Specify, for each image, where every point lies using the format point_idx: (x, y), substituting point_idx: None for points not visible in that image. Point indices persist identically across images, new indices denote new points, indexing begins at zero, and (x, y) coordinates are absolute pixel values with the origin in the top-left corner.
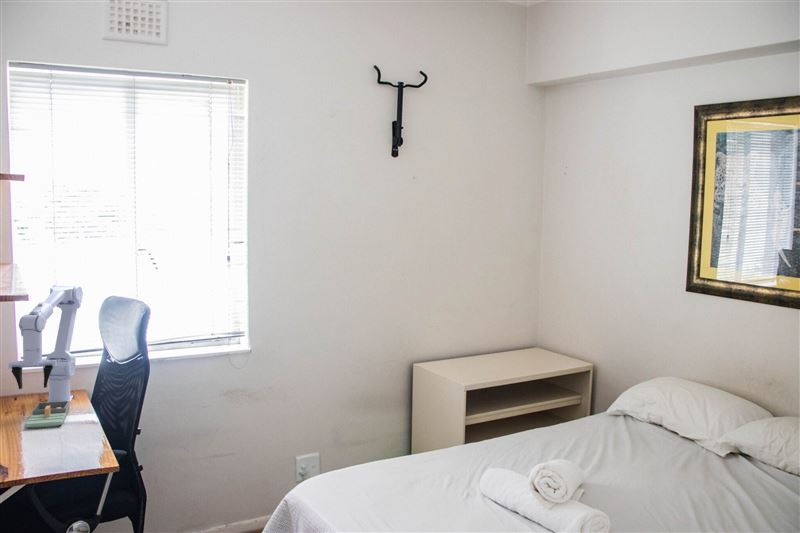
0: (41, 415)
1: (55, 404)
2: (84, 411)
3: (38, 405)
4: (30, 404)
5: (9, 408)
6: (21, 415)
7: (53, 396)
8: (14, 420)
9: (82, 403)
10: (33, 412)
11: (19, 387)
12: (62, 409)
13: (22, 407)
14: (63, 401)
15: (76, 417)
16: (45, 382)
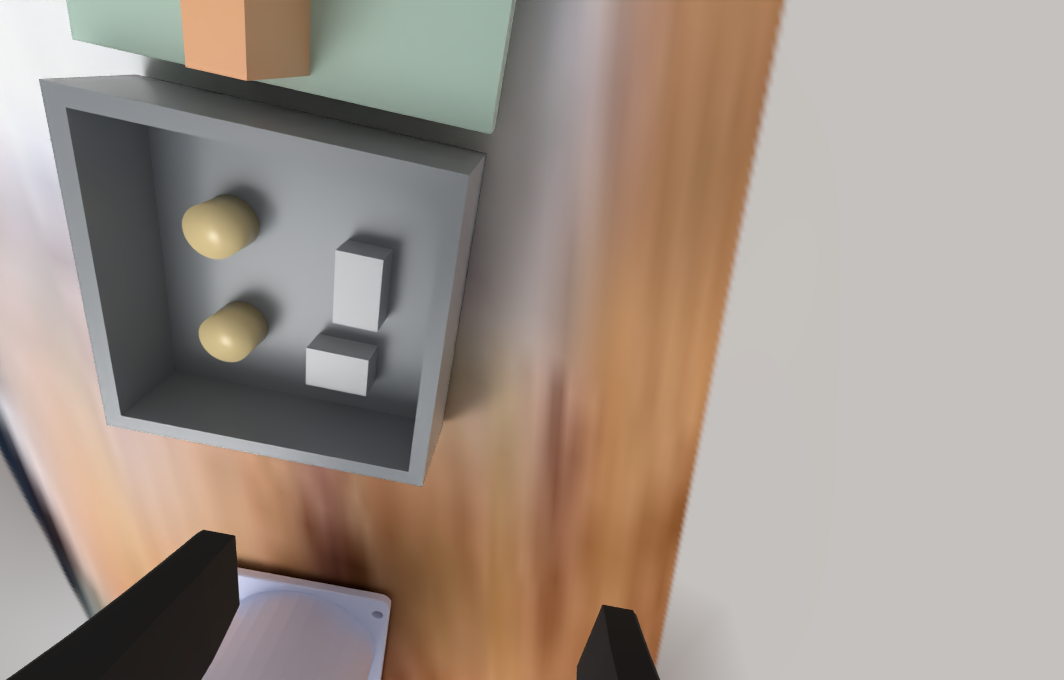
0: (372, 53)
1: (262, 423)
2: (13, 261)
3: (417, 418)
4: (501, 636)
5: (646, 608)
6: (582, 390)
7: (318, 648)
8: (661, 244)
9: (118, 515)
10: (465, 166)
11: (630, 632)
12: (94, 87)
13: (557, 595)
14: (165, 424)
15: (18, 37)
16: (127, 606)
